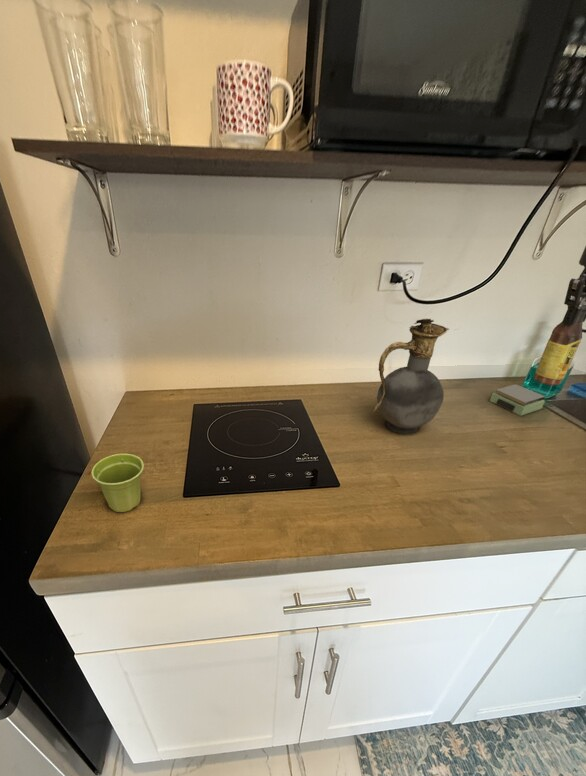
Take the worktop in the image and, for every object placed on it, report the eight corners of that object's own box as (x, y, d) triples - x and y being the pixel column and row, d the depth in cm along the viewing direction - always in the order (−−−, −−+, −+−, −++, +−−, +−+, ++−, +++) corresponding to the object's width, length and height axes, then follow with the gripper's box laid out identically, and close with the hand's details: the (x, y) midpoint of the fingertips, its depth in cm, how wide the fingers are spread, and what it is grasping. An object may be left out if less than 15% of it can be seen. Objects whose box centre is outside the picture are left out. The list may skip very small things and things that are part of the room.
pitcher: (439, 433, 103) (475, 321, 87) (376, 445, 98) (403, 327, 81) (413, 414, 111) (442, 308, 95) (355, 423, 106) (374, 313, 90)
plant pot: (151, 485, 82) (146, 451, 78) (146, 516, 75) (140, 481, 70) (105, 488, 81) (97, 454, 76) (96, 521, 73) (86, 485, 69)
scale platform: (514, 387, 121) (515, 384, 121) (543, 399, 114) (545, 396, 114) (495, 392, 118) (496, 389, 117) (524, 405, 111) (525, 402, 110)
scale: (510, 395, 123) (513, 387, 122) (541, 409, 116) (545, 400, 114) (488, 402, 119) (491, 393, 118) (519, 416, 112) (523, 407, 110)
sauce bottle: (560, 388, 96) (597, 307, 85) (531, 382, 99) (563, 303, 89) (562, 379, 101) (597, 301, 90) (534, 373, 104) (565, 297, 93)
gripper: (611, 246, 77) (572, 331, 86) (646, 243, 83) (606, 323, 92) (571, 242, 83) (539, 322, 92) (606, 239, 88) (572, 315, 98)
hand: (573, 322), depth 92 cm, fingers closed on sauce bottle, 4 cm apart
